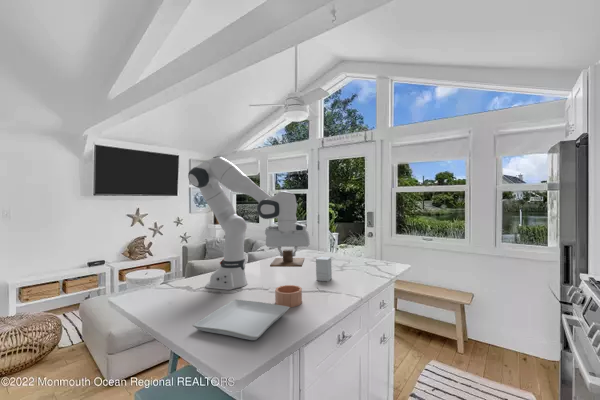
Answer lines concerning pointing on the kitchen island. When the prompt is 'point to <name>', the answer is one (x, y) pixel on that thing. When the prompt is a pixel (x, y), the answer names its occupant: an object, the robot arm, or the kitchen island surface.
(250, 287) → the kitchen island surface
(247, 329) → the square plate
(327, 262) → the supplement box
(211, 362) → the kitchen island surface
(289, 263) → the walnut lid
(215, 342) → the kitchen island surface
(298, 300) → the terracotta bowl
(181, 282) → the kitchen island surface
